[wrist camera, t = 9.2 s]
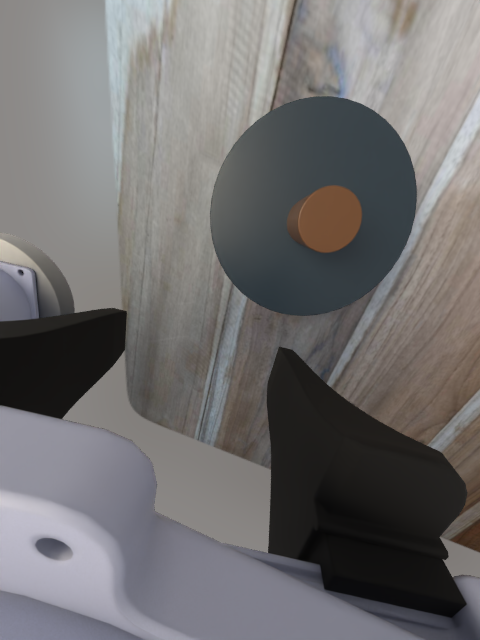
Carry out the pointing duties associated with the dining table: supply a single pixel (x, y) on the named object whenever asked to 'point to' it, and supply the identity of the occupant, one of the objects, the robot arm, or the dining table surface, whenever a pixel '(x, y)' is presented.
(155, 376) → the dining table surface
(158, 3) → the dining table surface
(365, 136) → the lid
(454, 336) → the dining table surface
